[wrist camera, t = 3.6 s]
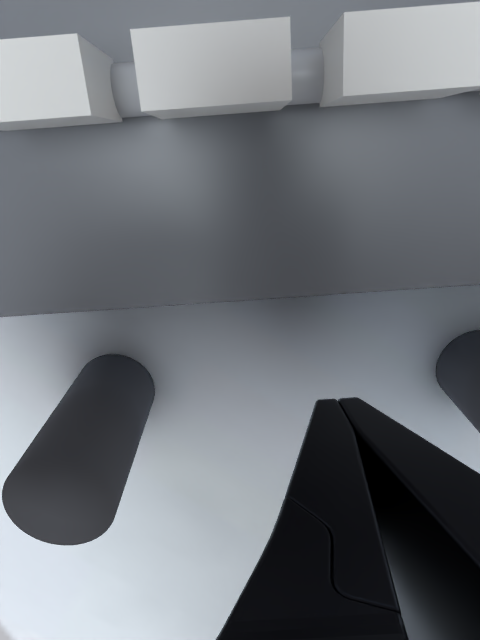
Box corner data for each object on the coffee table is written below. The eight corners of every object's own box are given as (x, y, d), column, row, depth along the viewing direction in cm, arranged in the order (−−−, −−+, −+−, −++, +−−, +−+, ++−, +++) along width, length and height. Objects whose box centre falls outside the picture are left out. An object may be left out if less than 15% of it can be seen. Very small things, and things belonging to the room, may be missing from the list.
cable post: (159, 418, 18) (124, 542, 12) (86, 423, 18) (18, 548, 12) (149, 351, 17) (105, 454, 11) (70, 356, 17) (-12, 461, 11)
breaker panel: (603, 257, 16) (712, 290, 12) (-13, 299, 16) (-84, 343, 12) (713, -207, 11) (933, -370, 8) (-140, -134, 12) (-305, -255, 8)
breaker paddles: (641, 84, 12) (782, 63, 9) (-39, 135, 12) (-131, 132, 9) (656, 21, 11) (811, -25, 8) (-55, 76, 11) (-158, 52, 8)
